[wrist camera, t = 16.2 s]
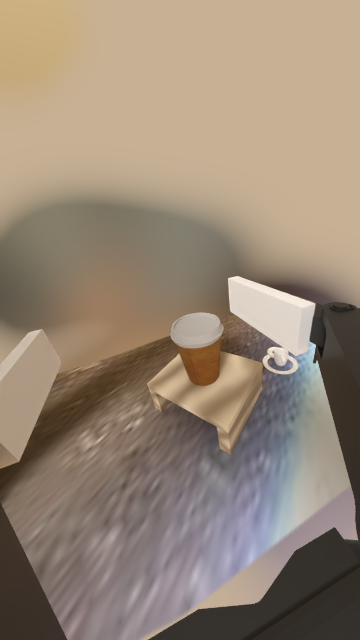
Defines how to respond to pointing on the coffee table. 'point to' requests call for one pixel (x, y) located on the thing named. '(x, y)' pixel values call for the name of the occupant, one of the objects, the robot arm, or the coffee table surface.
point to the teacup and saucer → (279, 360)
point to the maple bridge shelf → (213, 394)
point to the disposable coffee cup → (199, 346)
